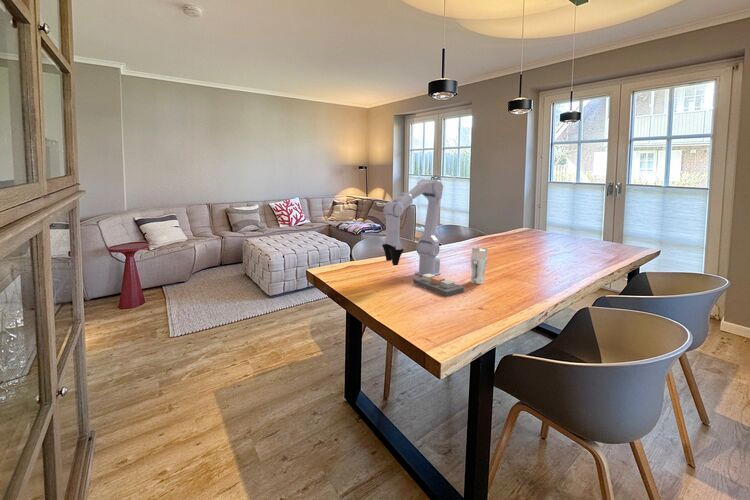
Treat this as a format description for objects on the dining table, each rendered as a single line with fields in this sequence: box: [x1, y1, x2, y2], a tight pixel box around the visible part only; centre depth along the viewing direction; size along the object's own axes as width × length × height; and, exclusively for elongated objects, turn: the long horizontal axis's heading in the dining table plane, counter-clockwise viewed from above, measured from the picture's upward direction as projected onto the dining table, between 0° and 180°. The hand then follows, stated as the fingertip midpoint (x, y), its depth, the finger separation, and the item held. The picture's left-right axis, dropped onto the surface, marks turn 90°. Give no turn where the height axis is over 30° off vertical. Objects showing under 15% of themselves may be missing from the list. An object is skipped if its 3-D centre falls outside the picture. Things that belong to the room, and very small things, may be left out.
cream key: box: [421, 274, 437, 282], centre depth 161 cm, size 4×4×2 cm
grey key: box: [440, 279, 456, 289], centre depth 152 cm, size 4×4×2 cm
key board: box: [412, 276, 465, 297], centre depth 157 cm, size 10×20×2 cm, turn 35°
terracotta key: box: [431, 276, 446, 285], centre depth 157 cm, size 4×4×2 cm
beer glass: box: [469, 247, 489, 285], centre depth 164 cm, size 7×7×15 cm
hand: (392, 262), depth 158 cm, fingers open, 7 cm apart
